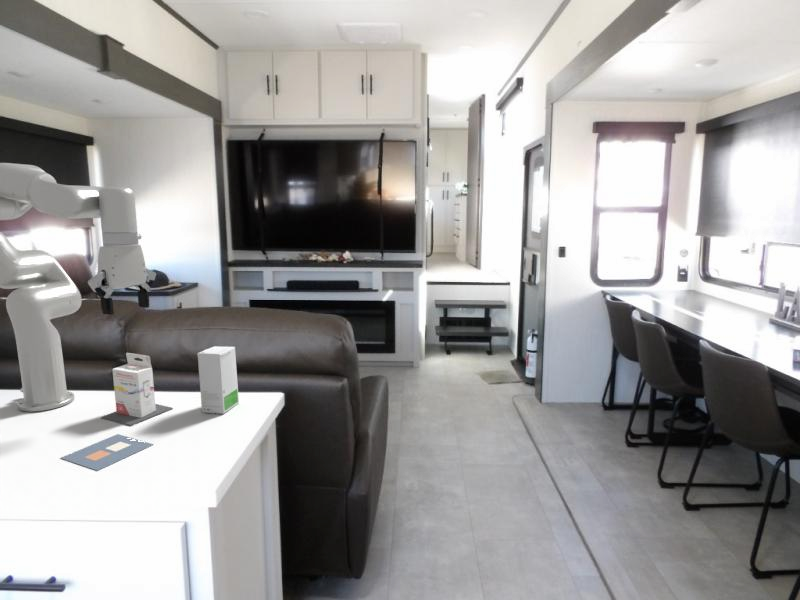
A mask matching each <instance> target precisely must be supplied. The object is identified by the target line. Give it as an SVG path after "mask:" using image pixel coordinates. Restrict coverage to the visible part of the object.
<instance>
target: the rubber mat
mask: <svg viewBox="0 0 800 600" xmlns="http://www.w3.org/2000/svg"><path fill="white" fill-rule="evenodd" d="M155 406H156V411H155V412H153V413H151V414H148V415H146V416H144V417H142V418H139V417H134V416H130V415H125V414H120V413H117V411H116V410H115V411H113V412H110V413H108V414H105V415H101V417H100V418H101V419H102V420H103V419H104V420H107V421H111V422H114V421H115V422H114V423H117V424H118V423H119V424H121V425H125V424H126V426H130V427H133V426H134V424H135V425H137V424H139V422H140V423H142V422H145V421H147V420H149V419H152V418H154V417H156V416H159V415H162V414H164V413H166V412H169V411H171V410H173V409H174V407H170V406H167V405H162V404H157V403H155ZM144 420H145V421H144ZM141 421H142V422H141Z"/></svg>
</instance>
